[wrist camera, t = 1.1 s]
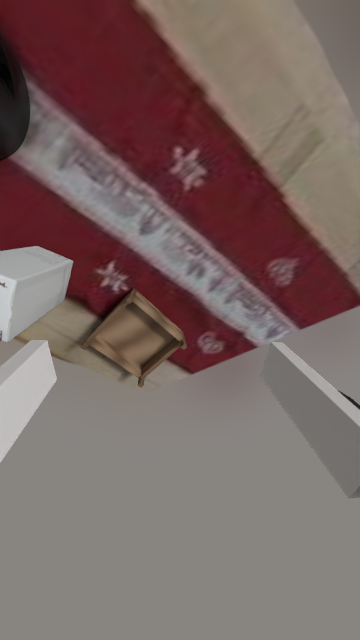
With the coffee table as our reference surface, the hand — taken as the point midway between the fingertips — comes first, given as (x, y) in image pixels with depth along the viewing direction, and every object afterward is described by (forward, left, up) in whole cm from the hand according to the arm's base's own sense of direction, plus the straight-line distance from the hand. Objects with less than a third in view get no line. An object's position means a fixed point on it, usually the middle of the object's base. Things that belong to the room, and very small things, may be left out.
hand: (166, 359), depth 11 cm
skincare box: (-14, -13, -26) cm, 32 cm away
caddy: (+4, -11, -26) cm, 28 cm away
